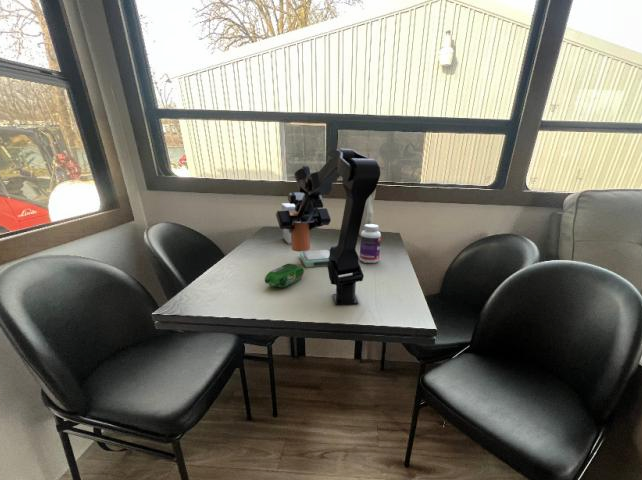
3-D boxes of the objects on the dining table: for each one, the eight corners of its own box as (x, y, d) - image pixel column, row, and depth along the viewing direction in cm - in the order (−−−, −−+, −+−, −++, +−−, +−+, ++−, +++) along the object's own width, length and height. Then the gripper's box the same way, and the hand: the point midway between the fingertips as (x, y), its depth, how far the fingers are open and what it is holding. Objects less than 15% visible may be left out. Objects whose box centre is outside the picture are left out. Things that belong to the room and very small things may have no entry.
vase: (366, 232, 163) (369, 173, 149) (376, 235, 157) (381, 174, 143) (354, 234, 158) (356, 173, 144) (364, 238, 152) (368, 175, 138)
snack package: (260, 289, 93) (259, 274, 91) (291, 273, 106) (290, 259, 103) (278, 294, 91) (277, 279, 88) (307, 277, 103) (307, 263, 101)
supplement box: (283, 238, 145) (280, 203, 138) (301, 237, 149) (300, 202, 141) (288, 243, 138) (285, 206, 130) (307, 242, 141) (306, 205, 134)
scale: (336, 265, 115) (336, 258, 114) (306, 267, 111) (306, 260, 110) (328, 255, 125) (328, 248, 124) (300, 257, 122) (299, 250, 120)
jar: (298, 252, 109) (296, 216, 103) (288, 248, 113) (285, 213, 107) (313, 249, 113) (312, 214, 107) (303, 245, 117) (301, 211, 112)
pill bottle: (379, 264, 118) (382, 228, 111) (359, 263, 117) (361, 227, 111) (378, 257, 125) (380, 223, 118) (359, 257, 125) (360, 222, 118)
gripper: (327, 184, 104) (315, 211, 117) (275, 185, 95) (268, 214, 109) (337, 211, 102) (323, 235, 115) (285, 214, 93) (276, 240, 106)
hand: (298, 230), depth 111 cm, fingers closed on jar, 7 cm apart
